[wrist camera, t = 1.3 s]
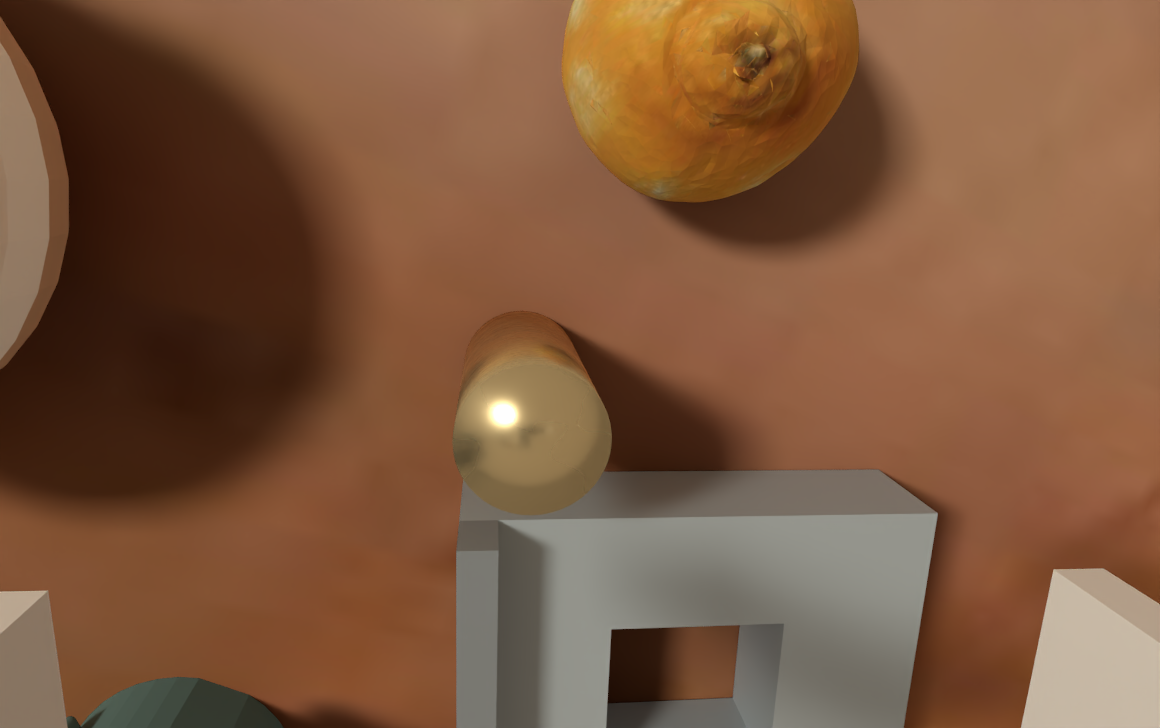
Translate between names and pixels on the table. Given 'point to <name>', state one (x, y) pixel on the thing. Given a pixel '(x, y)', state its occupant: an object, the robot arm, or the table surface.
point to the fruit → (705, 87)
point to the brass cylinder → (528, 417)
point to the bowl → (27, 199)
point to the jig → (696, 598)
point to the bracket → (179, 707)
